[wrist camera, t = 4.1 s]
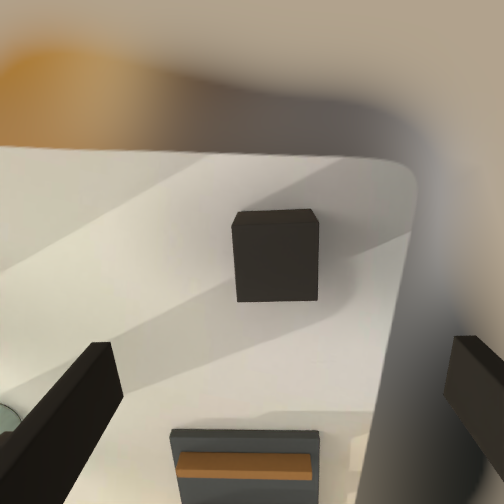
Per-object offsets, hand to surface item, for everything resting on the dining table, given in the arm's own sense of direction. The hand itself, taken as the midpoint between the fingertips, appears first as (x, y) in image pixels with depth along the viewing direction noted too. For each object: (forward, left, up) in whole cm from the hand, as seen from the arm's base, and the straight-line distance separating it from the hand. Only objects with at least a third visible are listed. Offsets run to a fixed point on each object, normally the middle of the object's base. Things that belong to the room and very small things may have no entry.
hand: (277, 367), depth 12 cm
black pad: (0, 0, -15) cm, 15 cm away
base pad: (+4, +28, -15) cm, 32 cm away
